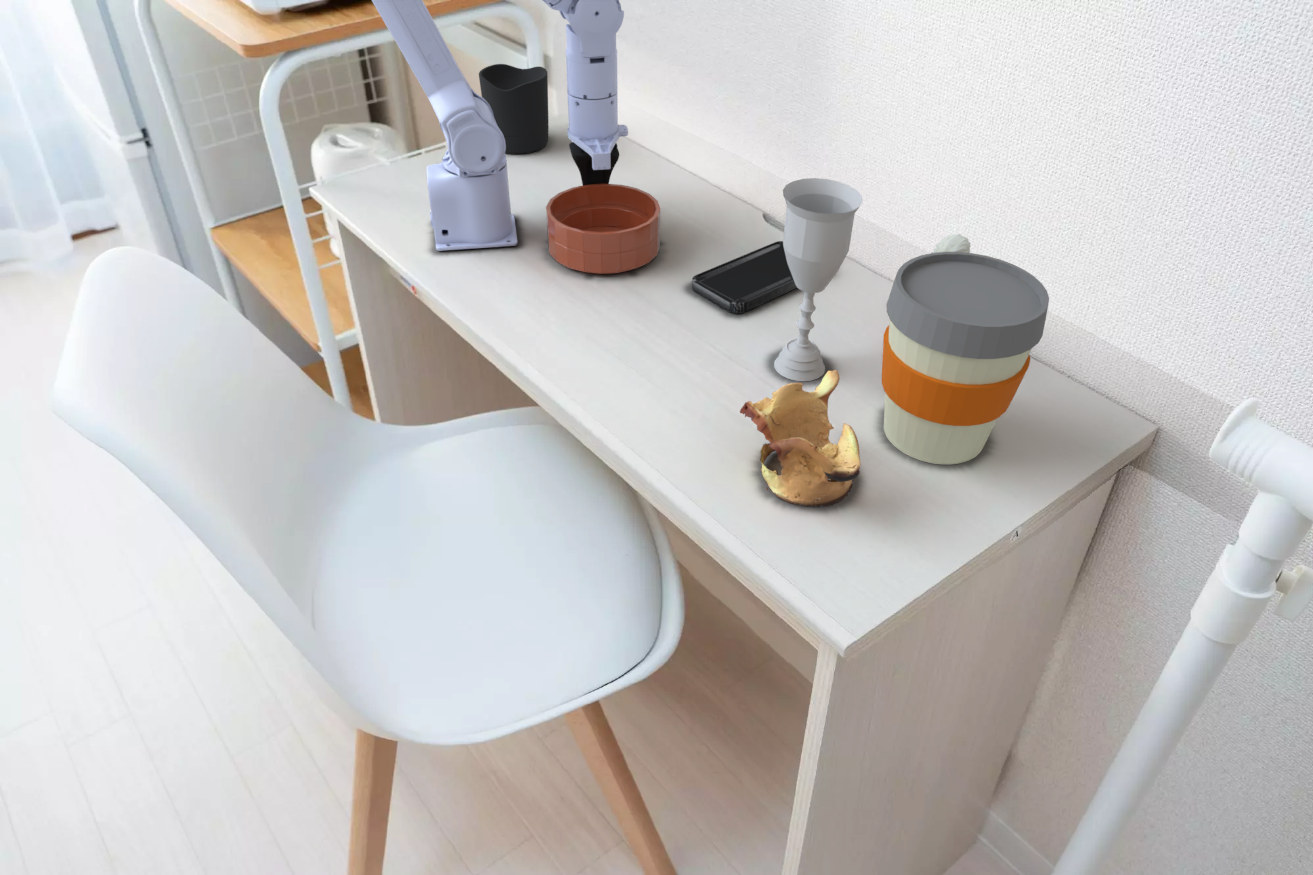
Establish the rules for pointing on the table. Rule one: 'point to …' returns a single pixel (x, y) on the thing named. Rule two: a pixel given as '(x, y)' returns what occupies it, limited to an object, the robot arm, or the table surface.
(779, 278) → the phone
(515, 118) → the pen holder
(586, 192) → the bowl
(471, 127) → the robot arm
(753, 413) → the yellow irregular figure
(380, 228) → the table surface
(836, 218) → the chalice
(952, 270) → the reusable coffee cup
